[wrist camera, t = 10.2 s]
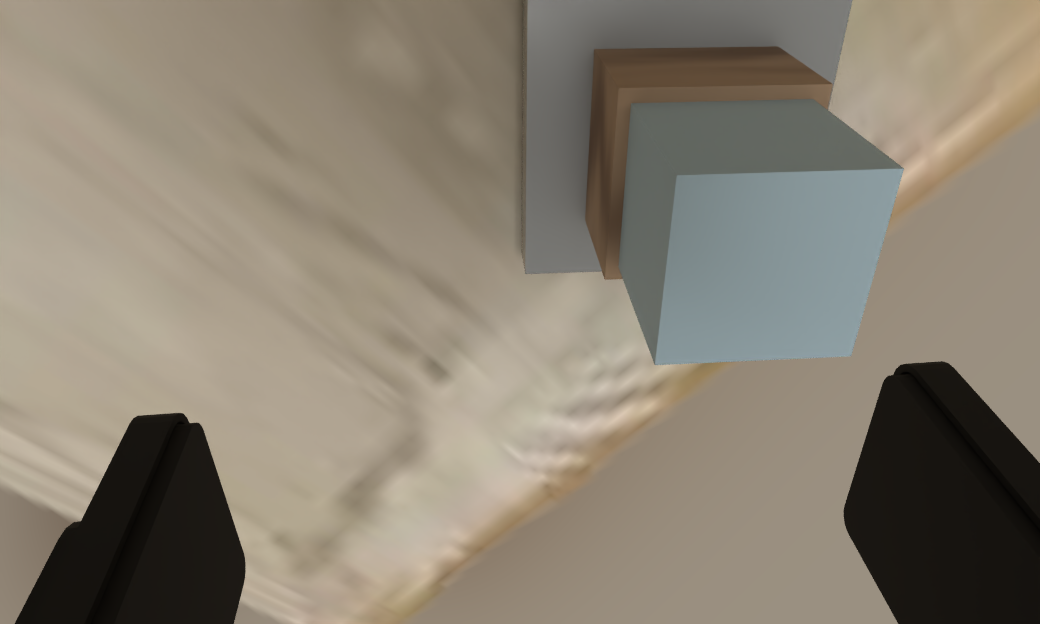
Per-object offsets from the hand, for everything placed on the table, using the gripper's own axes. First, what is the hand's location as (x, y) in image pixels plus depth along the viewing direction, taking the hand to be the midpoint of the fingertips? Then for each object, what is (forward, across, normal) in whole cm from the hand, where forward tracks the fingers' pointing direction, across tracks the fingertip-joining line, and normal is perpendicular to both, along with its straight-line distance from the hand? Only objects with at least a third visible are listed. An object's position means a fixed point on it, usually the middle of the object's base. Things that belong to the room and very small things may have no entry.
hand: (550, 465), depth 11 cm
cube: (+16, -8, +4) cm, 18 cm away
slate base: (+23, -8, +4) cm, 25 cm away
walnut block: (+21, -8, +4) cm, 23 cm away
